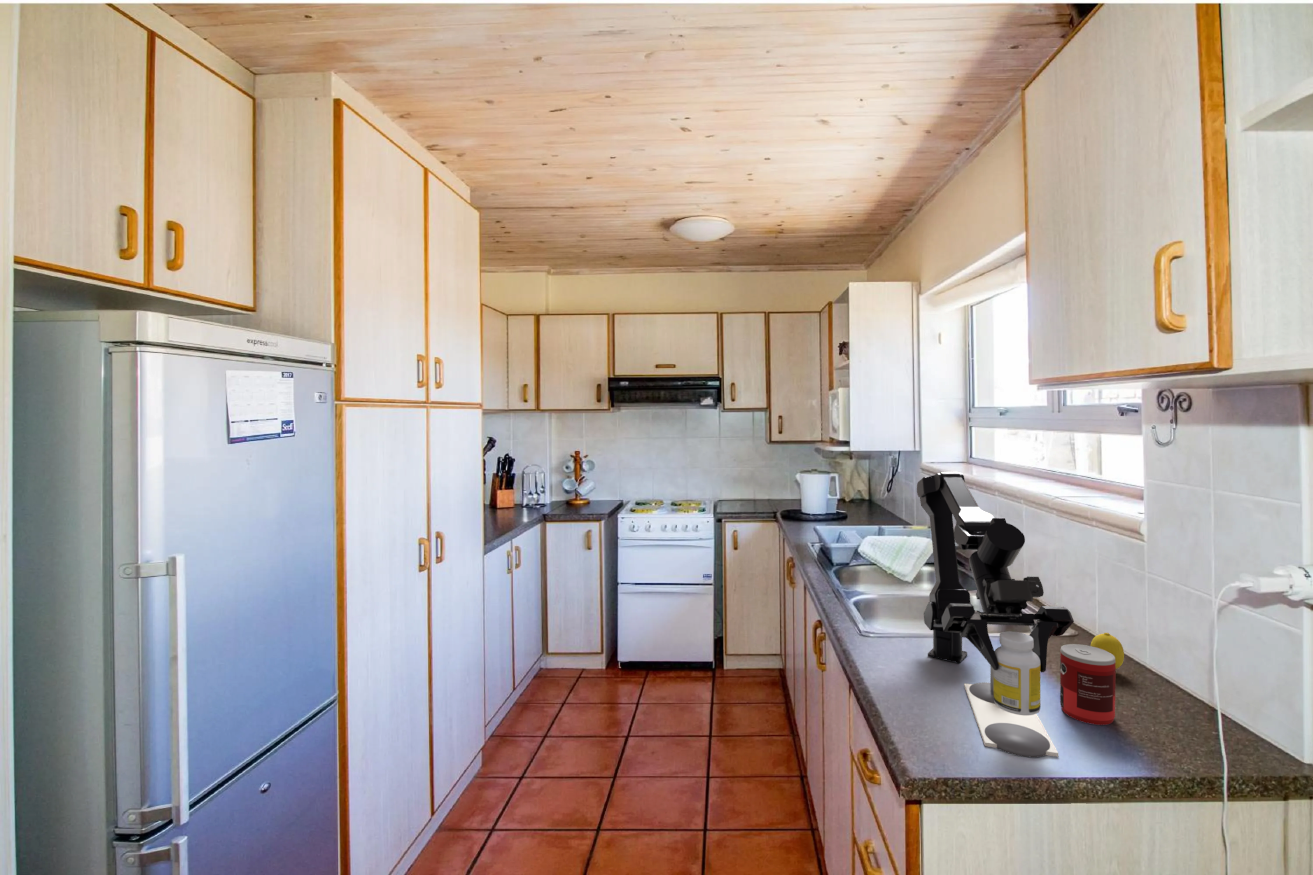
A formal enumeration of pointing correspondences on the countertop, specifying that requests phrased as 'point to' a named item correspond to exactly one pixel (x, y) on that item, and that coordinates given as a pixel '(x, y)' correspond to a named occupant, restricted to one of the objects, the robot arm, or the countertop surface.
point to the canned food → (1087, 684)
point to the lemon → (1109, 646)
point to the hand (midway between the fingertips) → (1020, 670)
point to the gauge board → (1007, 725)
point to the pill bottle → (1017, 674)
